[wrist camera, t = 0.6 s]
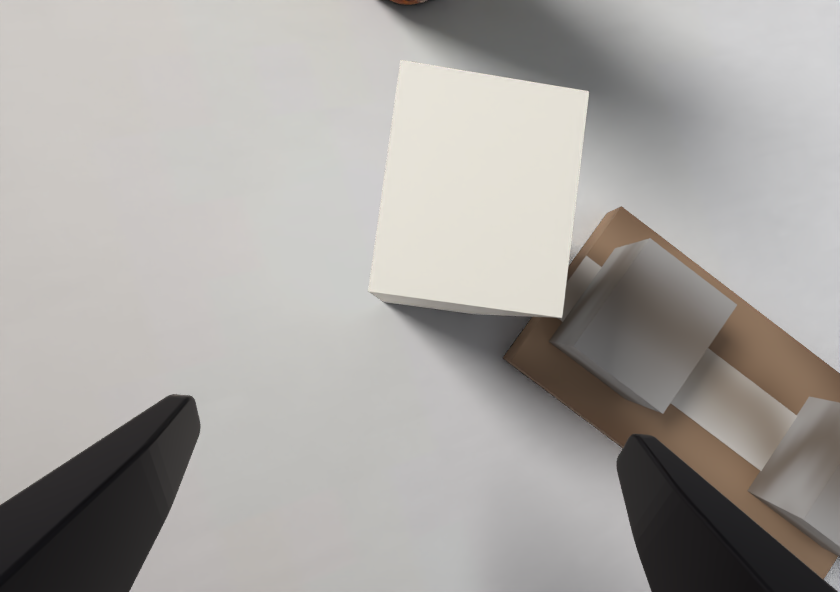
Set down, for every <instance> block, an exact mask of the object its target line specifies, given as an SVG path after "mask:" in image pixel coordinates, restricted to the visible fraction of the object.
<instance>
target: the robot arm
mask: <svg viewBox="0 0 840 592" xmlns="http://www.w3.org/2000/svg"><path fill="white" fill-rule="evenodd" d="M199 433H200V420H199V415H198V411H197V407H196V402H195V399H194V398H193V397H192V396H189V395H177V394H172V395H169V396H167V397H165V398H164V399H162V400H161V401H159V402H158V403H156V404H155V405H153V406H152V407H150V408H148V409H147V410H145V411H144V412H142V413H141V414H139V415H138V416H136V417H135V418H133V419H132V420H130V421H129V422H127V423H125V424H124V425H122V426H121V427H119V428H118V429H116V430H115V431H113V432H112V433H110V434H109V435H107V436H106V437H104V438H102V439H101V440H99V441H98V442H96V443H95V444H93V445H92V446H90V447H89V448H87V449H86V450H84V451H83V452H81V453H79V454H78V455H76V456H75V457H73V458H72V459H70V460H69V461H67V462H66V463H64V464H63V465H61V466H60V467H58V468H56V469H55V470H53V471H52V472H50V473H49V474H47V475H46V476H44V477H43V478H41V479H40V480H38V481H37V482H35V483H33V484H32V485H30V486H29V487H27V488H26V489H24V490H23V491H21V492H20V493H18V494H17V495H15V496H14V497H12V498H10V499H9V500H7V501H6V502H4V503H3V504H1V505H0V592H129V591H130V589H131V587H132V585H133V583H134V581H135V579H136V577H137V575H138V573H139V571H140V569H141V567H142V565H143V563H144V561H145V559H146V557H147V555H148V554H149V552H150V550H151V548H152V546H153V544H154V542H155V540H156V538H157V536H158V534H159V532H160V530H161V528H162V526H163V524H164V522H165V520H166V518H167V516H168V513H169V511H170V509H171V507H172V504H173V502H174V499H175V497H176V494H177V492H178V489H179V486H180V484H181V481H182V479H183V476H184V473H185V471H186V468H187V465H188V463H189V460H190V458H191V455H192V452H193V450H194V447H195V445H196V442H197V439H198V437H199ZM617 472H618V476H619V480H620V484H621V489H622V493H623V497H624V501H625V505H626V509H627V513H628V517H629V522H630V526H631V530H632V534H633V537H634V541H635V544H636V548H637V551H638V554H639V557H640V560H641V563H642V565H643V568H644V571H645V574H646V577H647V580H648V583H649V586H650V588H651V591H652V592H837V591H836V590H835V589H834V588H833V587H832V586H830V585H829V584H828V583H827V582H826V581H824V580H823V579H822V578H821V577H820V576H819V575H817V574H816V573H815V572H814V571H813V570H811V569H810V568H809V567H808V566H807V565H806V564H804V563H803V562H802V561H801V560H800V559H798V558H797V557H796V556H795V555H794V554H793V553H791V552H790V551H789V550H788V549H787V548H785V547H784V546H783V545H782V544H781V543H780V542H778V541H777V540H776V539H775V538H774V537H772V536H771V535H770V534H769V533H768V532H767V531H765V530H764V529H763V528H762V527H761V526H759V525H758V524H757V523H756V522H755V521H754V520H752V519H751V518H750V517H749V516H748V515H746V514H745V513H744V512H743V511H742V510H741V509H739V508H738V507H737V506H736V505H735V504H733V503H732V502H731V501H730V500H729V499H728V498H726V497H725V496H724V495H723V494H722V493H720V492H719V491H718V490H717V489H716V488H715V487H713V486H712V485H711V484H710V483H709V482H707V481H706V480H705V479H704V478H703V477H702V476H700V475H699V474H698V473H697V472H696V471H694V470H693V469H692V468H691V467H690V466H689V465H687V464H686V463H685V462H684V461H683V460H681V459H680V458H679V457H678V456H677V455H676V454H674V453H673V452H672V451H671V450H670V449H669V448H667V447H666V446H665V445H664V444H663V443H661V442H660V441H659V440H658V439H657V438H655V437H654V436H651V435H645V434H632V435H631V436H630V437H629V438H628V440H627V442H626V443H625V445H624V447H623V449H622V451H621V452H620V454H619V456H618V458H617Z"/></svg>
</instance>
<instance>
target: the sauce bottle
mask: <svg viewBox="0 0 840 592" xmlns="http://www.w3.org/2000/svg"><path fill="white" fill-rule="evenodd" d="M389 1H392V2H395V3H397V4H405V5H414V4H419V3H424V2H425V1H428V0H389Z"/></svg>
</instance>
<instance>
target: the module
mask: <svg viewBox="0 0 840 592" xmlns="http://www.w3.org/2000/svg"><path fill="white" fill-rule="evenodd" d="M588 98H589V91H584V90H578V89H572V88H566V87H560V86H554V85H548V84H542V83H536V82H530V81H524V80H518V79H512V78H506V77H500V76H494V75H488V74H482V73H476V72H470V71H464V70H458V69H452V68H446V67H440V66H434V65H428V64H422V63H416V62H410V61H404V60H401V61H400V68H399V75H398V82H397V89H396V96H395V103H394V110H393V118H392V125H391V132H390V139H389V146H388V153H387V160H386V167H385V175H384V182H383V189H382V196H381V203H380V210H379V217H378V225H377V232H376V239H375V246H374V253H373V260H372V267H371V274H370V282H369V289H368V292H370V293H371V294H373V295H374V296H375V297H377V298H378V299H380V300H381V301H382V302H387V303H395V304H402V305H409V306H417V307H424V308H432V309H439V310H446V311H454V312H461V313H468V314H479V315H504V316H529V317H553V318H562V315H563V307H564V299H565V290H566V282H567V273H568V265H569V257H570V248H571V240H572V232H573V223H574V215H575V206H576V198H577V190H578V181H579V173H580V165H581V156H582V148H583V139H584V131H585V123H586V114H587V106H588Z"/></svg>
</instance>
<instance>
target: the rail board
mask: <svg viewBox="0 0 840 592" xmlns="http://www.w3.org/2000/svg"><path fill="white" fill-rule="evenodd" d="M503 359H504V360H506V361H507V362H508V363H510V364H511V365H512V366H514V367H515V368H516V369H518V370H519V371H520V372H522V373H523V374H524V375H526V376H527V377H528V378H530V379H531V380H532V381H534V382H535V383H536V384H538V385H539V386H540V387H542V388H543V389H544V390H546V391H547V392H548V393H550V394H551V395H552V396H554V397H555V398H556V399H558V400H559V401H560V402H562V403H563V404H564V405H566V406H567V407H568V408H570V409H571V410H572V411H574V412H575V413H576V414H578V415H579V416H581V417H582V418H583V419H585V420H586V421H587V422H589V423H590V424H591V425H593V426H594V427H595V428H597V429H598V430H599V431H601V432H602V433H603V434H605V435H606V436H607V437H609V438H610V439H611V440H613V441H614V442H615V443H617V444H618V445H619V446H621V447H622V448H623V447H624V445H625V443H626V442H627V440H628V438H629V437H630V436H631V435H632V434H645V435H651V436H654V437H655V438H657V439H658V440H659V441H660V442H661V443H663V444H664V445H665V446H666V447H667V448H669V449H670V450H671V451H672V452H673V453H674V454H676V455H677V456H678V457H679V458H680V459H681V460H683V461H684V462H685V463H686V464H687V465H689V466H690V467H691V468H692V469H693V470H694V471H696V472H697V473H698V474H699V475H700V476H702V477H703V478H704V479H705V480H706V481H707V482H709V483H710V484H711V485H712V486H713V487H715V488H716V489H717V490H718V491H719V492H720V493H722V494H723V495H724V496H725V497H726V498H728V499H729V500H730V501H731V502H732V503H733V504H735V505H736V506H737V507H738V508H739V509H741V510H742V511H743V512H744V513H745V514H746V515H748V516H749V517H750V518H751V519H752V520H754V521H755V522H756V523H757V524H758V525H759V526H761V527H762V528H763V529H764V530H765V531H767V532H768V533H769V534H770V535H771V536H772V537H774V538H775V539H776V540H777V541H778V542H780V543H781V544H782V545H783V546H784V547H785V548H787V549H788V550H789V551H790V552H791V553H793V554H794V555H795V556H796V557H797V558H798V559H800V560H801V561H802V562H803V563H804V564H806V565H807V566H808V567H809V568H810V569H811V570H813V571H814V572H815V573H816V574H817V575H819V576H820V577H821V578H822V579H824V578H825V576H826V575H827V573H828V572H829V570H830V568H831V567H832V565H833V564H834V562H835V561H836V559H837V557H838V556H839V557H840V373H838V372H837V371H836V370H834V369H833V368H832V367H830V366H829V365H828V364H827V363H825V362H824V361H823V360H821V359H820V358H819V357H817V356H816V355H815V354H814V353H812V352H811V351H810V350H808V349H807V348H806V347H804V346H803V345H802V344H800V343H799V342H798V341H797V340H795V339H794V338H793V337H791V336H790V335H789V334H787V333H786V332H785V331H783V330H782V329H781V328H780V327H778V326H777V325H776V324H774V323H773V322H772V321H770V320H769V319H768V318H767V317H765V316H764V315H763V314H761V313H760V312H759V311H757V310H756V309H755V308H753V307H752V306H751V305H750V304H748V303H747V302H746V301H744V300H743V299H742V298H740V297H739V296H738V295H737V294H735V293H734V292H733V291H731V290H730V289H729V288H727V287H726V286H725V285H723V284H722V283H721V282H720V281H718V280H717V279H716V278H714V277H713V276H712V275H710V274H709V273H708V272H706V271H705V270H704V269H703V268H701V267H700V266H699V265H697V264H696V263H695V262H693V261H692V260H691V259H690V258H688V257H687V256H686V255H684V254H683V253H682V252H680V251H679V250H678V249H676V248H675V247H674V246H673V245H671V244H670V243H669V242H667V241H666V240H665V239H663V238H662V237H661V236H659V235H658V234H657V233H656V232H654V231H653V230H652V229H650V228H649V227H648V226H646V225H645V224H644V223H643V222H641V221H640V220H639V219H637V218H636V217H635V216H633V215H632V214H631V213H629V212H628V211H627V210H626V209H624V208H623V207H622V206H621V207H619V208H617V209H615V210H613V211H611V212H609V213H607V214H606V215H605V217H604V218H603V219H602V221H601V222H600V224H599V225H598V226H597V228H596V229H595V231H594V232H593V233H592V235H591V236H590V238H589V239H588V240H587V242H586V243H585V244H584V246H583V247H582V249H581V250H580V251H579V253H578V254H577V256H576V257H575V258H574V260H573V261H572V262H571V264H570V265H569V267H568V273H567V282H566V290H565V299H564V307H563V315H562V318H553V317H532V318H531V319H530V321H529V322H528V324H527V325H526V326H525V328H524V329H523V330H522V332H521V333H520V335H519V336H518V337H517V339H516V340H515V342H514V343H513V344H512V346H511V347H510V349H509V350H508V351H507V353H506V354H505V355H504V357H503Z"/></svg>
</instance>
